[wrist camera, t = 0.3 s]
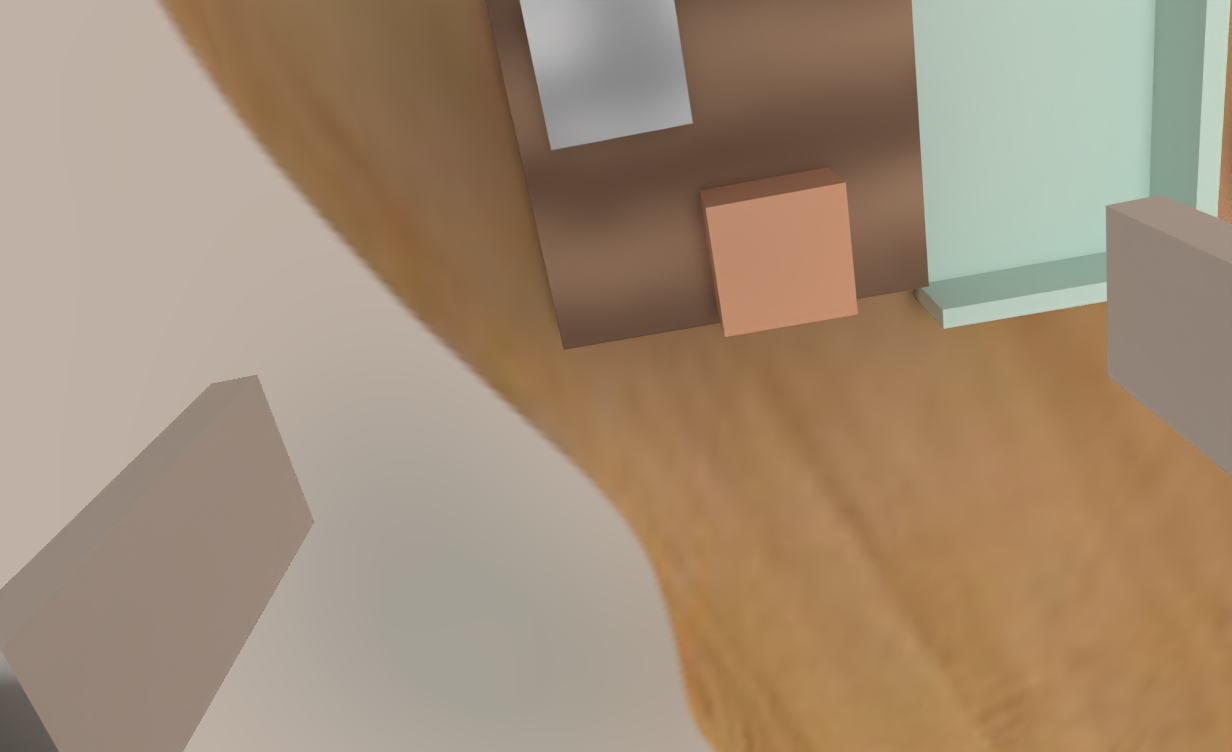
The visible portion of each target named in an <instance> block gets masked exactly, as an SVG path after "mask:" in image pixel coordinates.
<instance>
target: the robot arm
mask: <svg viewBox="0 0 1232 752" xmlns="http://www.w3.org/2000/svg"><path fill="white" fill-rule="evenodd" d="M1106 271H1107V366H1108V377H1110V378H1111V379H1112V380H1113V381H1115V382H1116V383H1117V384H1118V385H1120V386H1121V387H1122V388H1123V389H1124V390H1126V391H1127V392H1128V393H1129V394H1131V395H1132V396H1133V397H1134V398H1136V399H1137V400H1138V401H1139V402H1140V403H1142V404H1143V405H1144V406H1145V407H1147V408H1148V409H1149V410H1150V411H1152V412H1153V413H1154V414H1155V415H1156V416H1158V417H1159V418H1160V419H1161V420H1163V421H1164V422H1165V423H1166V424H1168V425H1169V426H1170V427H1171V428H1173V429H1174V430H1175V431H1176V432H1177V433H1179V434H1180V435H1181V436H1182V437H1184V438H1185V439H1186V440H1187V441H1189V442H1190V443H1191V444H1192V445H1193V446H1195V447H1196V448H1197V449H1198V450H1200V451H1201V452H1202V453H1203V454H1205V455H1206V456H1207V457H1208V458H1209V459H1211V460H1212V461H1213V462H1214V463H1216V464H1217V465H1218V466H1219V467H1221V468H1222V469H1223V470H1224V471H1225V472H1227V473H1228V474H1229V475H1230V476H1232V223H1230V222H1227V221H1224V220H1222V219H1219V218H1217V217H1214V216H1212V215H1209V214H1207V213H1204V212H1202V211H1199V210H1197V209H1194V208H1192V207H1189V206H1187V205H1184V204H1182V203H1179V202H1177V201H1174V200H1171V199H1169V198H1166V197H1164V196H1161V195H1156V196H1151V197H1146V198H1141V199H1136V200H1131V201H1126V202H1121V203H1116V204H1111V205H1106ZM313 523H314V520H313V518H312V515H311V513H310V510H309V507H308V505H307V502H306V500H305V497H304V495H303V492H302V490H301V487H300V485H299V482H298V479H297V476H296V474H295V471H294V469H293V466H292V464H291V461H290V458H289V456H288V453H287V451H286V448H285V446H284V443H283V440H282V438H281V435H280V433H279V430H278V428H277V425H276V423H275V420H274V417H273V415H272V412H271V410H270V407H269V405H268V402H267V399H266V397H265V394H264V392H263V389H262V386H261V384H260V381H259V379H258V376H257V375H254V376H249V377H243V378H238V379H233V380H228V381H223V382H218V383H213V384H211V385H210V386H209V387H208V388H207V389H206V390H205V391H204V392H203V393H202V394H201V395H199V396H198V398H196V399H195V400H194V401H193V402H192V403H191V404H190V405H189V406H188V407H187V408H186V409H185V410H184V411H183V412H182V413H181V414H180V415H179V416H178V417H177V418H176V419H175V420H174V421H173V422H172V423H171V424H170V425H169V426H168V427H167V428H166V429H165V430H164V431H163V432H162V433H161V434H160V435H159V436H158V437H157V438H155V439H154V440H153V441H152V442H151V443H150V444H149V445H148V446H147V447H146V448H145V450H143V451H142V452H141V453H140V454H139V455H138V456H137V457H136V458H135V459H134V460H133V461H132V462H131V463H130V464H129V465H128V466H127V467H126V468H125V469H124V470H123V471H122V472H121V473H120V474H119V475H118V476H117V477H116V478H115V479H114V480H113V481H111V483H109V484H108V486H106V487H105V488H104V489H103V490H102V491H101V492H100V493H99V494H98V495H97V496H96V497H95V498H94V499H93V500H92V501H91V502H90V503H89V504H88V505H87V506H86V507H85V508H84V509H83V510H82V511H81V512H80V513H79V514H78V515H77V516H76V517H75V518H74V519H73V520H72V521H71V522H70V523H69V524H68V525H67V526H65V527H64V528H63V529H62V530H61V531H60V532H59V533H58V534H57V535H56V536H55V537H54V538H53V539H52V540H51V541H50V542H49V543H48V544H47V545H46V546H45V547H44V548H43V549H42V550H41V551H40V552H39V553H38V554H37V555H36V556H35V557H34V558H33V559H32V560H31V561H30V562H29V563H28V564H27V565H26V566H25V567H23V568H22V569H21V570H20V571H19V572H18V573H17V574H16V575H15V576H14V577H13V578H12V579H11V580H10V581H9V582H8V583H7V584H6V585H5V586H4V587H3V588H2V589H1V590H0V752H183V751H184V749H185V747H186V745H187V744H188V742H189V740H190V738H191V736H192V735H193V733H194V731H195V730H196V728H197V726H198V724H199V723H200V721H201V719H202V717H203V715H204V714H205V712H206V710H207V708H208V707H209V705H210V703H211V702H212V700H213V698H214V696H215V695H216V693H217V691H218V689H219V687H220V686H221V684H222V682H223V681H224V679H225V677H226V675H227V674H228V672H229V670H230V668H231V667H232V665H233V663H234V661H235V660H236V658H237V656H238V654H239V653H240V651H241V649H242V647H243V646H244V644H245V642H246V640H247V639H248V637H249V635H250V633H251V632H252V630H253V628H254V626H255V625H256V623H257V621H258V619H259V617H260V616H261V614H262V612H263V611H264V609H265V607H266V605H267V603H268V602H269V600H270V598H271V596H272V595H273V593H274V591H275V590H276V588H277V586H278V584H279V583H280V581H281V579H282V577H283V576H284V574H285V572H286V570H287V569H288V567H289V565H290V563H291V562H292V560H293V558H294V556H295V555H296V553H297V551H298V549H299V547H300V546H301V544H302V542H303V540H304V539H305V537H306V535H307V534H308V532H309V530H310V528H311V527H312V525H313Z"/></svg>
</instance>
